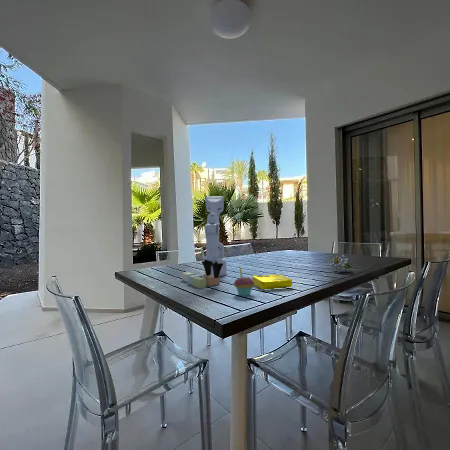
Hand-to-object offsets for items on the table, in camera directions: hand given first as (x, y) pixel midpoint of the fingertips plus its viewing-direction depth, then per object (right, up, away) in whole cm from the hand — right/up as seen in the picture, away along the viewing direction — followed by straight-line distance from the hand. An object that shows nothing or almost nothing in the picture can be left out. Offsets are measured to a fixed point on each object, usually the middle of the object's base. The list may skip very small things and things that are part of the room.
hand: (212, 276), depth 142 cm
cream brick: (-3, -4, +9) cm, 10 cm away
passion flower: (+76, -3, +33) cm, 82 cm away
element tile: (+28, -4, -4) cm, 29 cm away
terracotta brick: (0, -4, 0) cm, 4 cm away
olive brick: (-6, -4, -4) cm, 8 cm away
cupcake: (+14, -4, -19) cm, 24 cm away
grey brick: (-13, -4, +8) cm, 16 cm away
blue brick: (-8, -4, +2) cm, 9 cm away
